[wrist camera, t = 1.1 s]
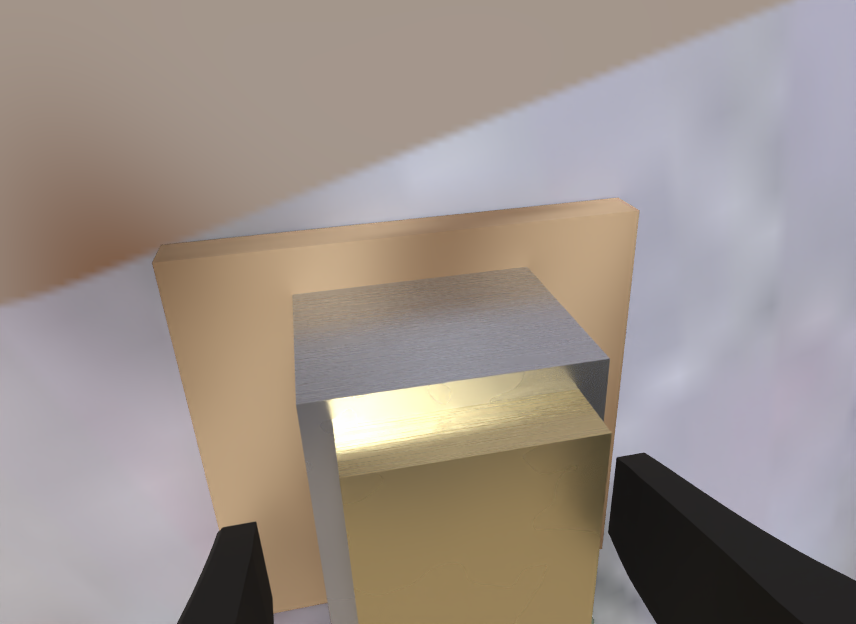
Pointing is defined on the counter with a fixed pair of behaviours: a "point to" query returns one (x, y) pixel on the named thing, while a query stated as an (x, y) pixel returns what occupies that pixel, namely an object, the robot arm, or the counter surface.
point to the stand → (337, 269)
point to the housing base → (423, 371)
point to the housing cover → (476, 512)
